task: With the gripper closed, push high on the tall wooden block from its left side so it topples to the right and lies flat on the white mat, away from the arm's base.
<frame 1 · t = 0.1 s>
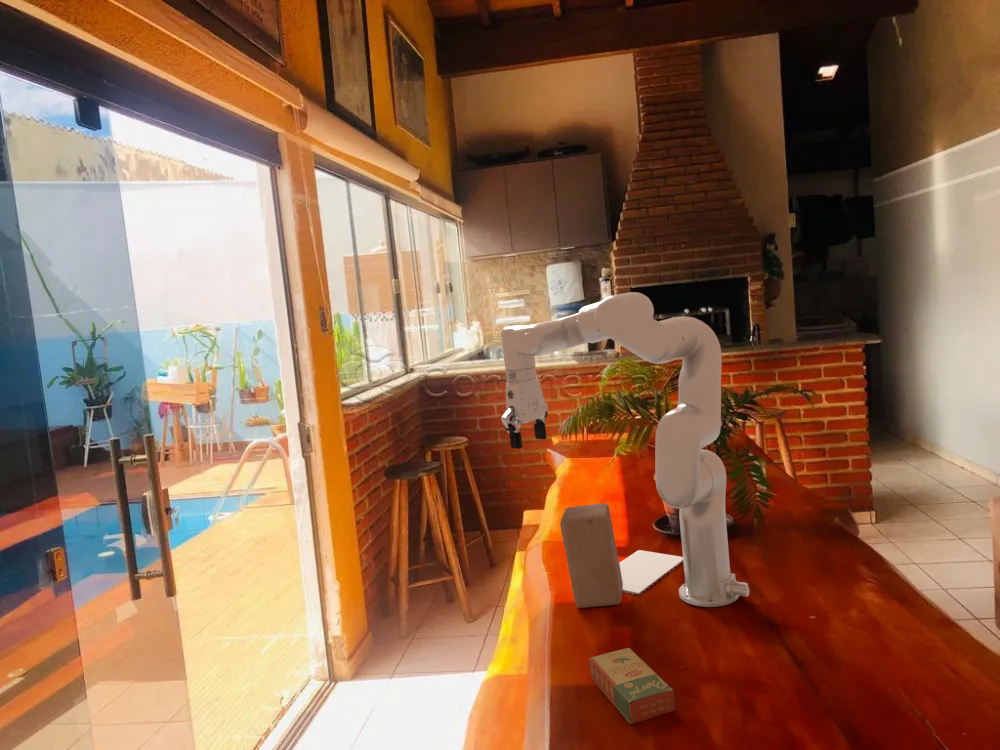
hand: (529, 443, 188), 31 cm above the table, tool pointing down, fingers open, 9 cm apart
carton: (631, 696, 129), on the table
white mat: (638, 572, 179), on the table
wooden block: (600, 598, 167), on the table, touching white mat
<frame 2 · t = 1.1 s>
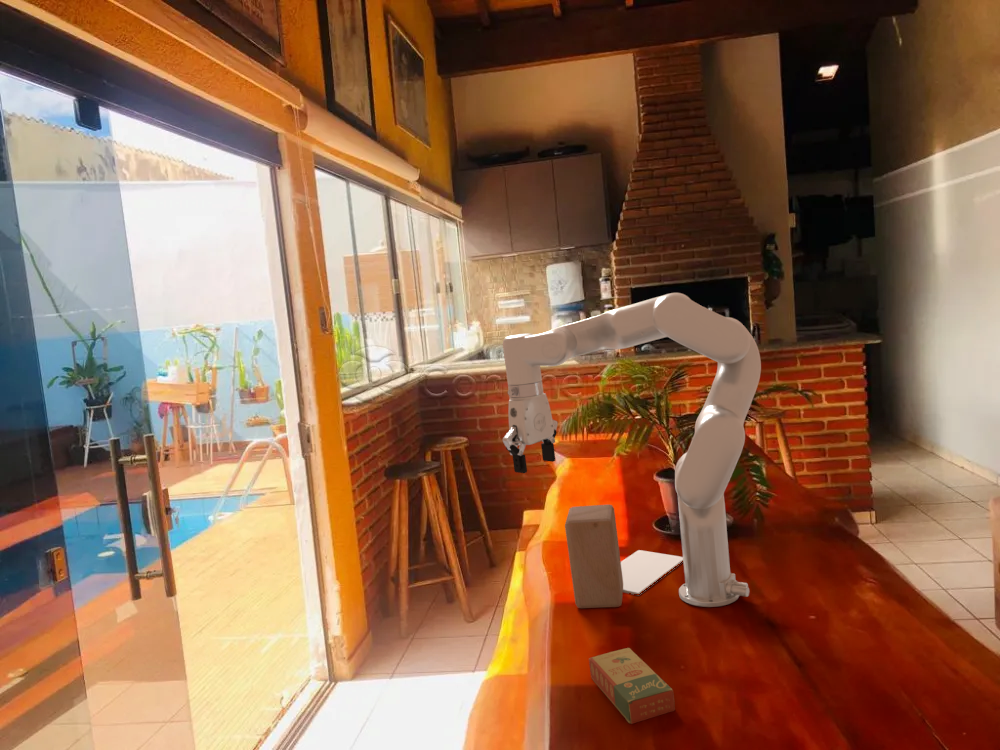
hand: (535, 466, 168), 30 cm above the table, tool pointing down, fingers open, 9 cm apart
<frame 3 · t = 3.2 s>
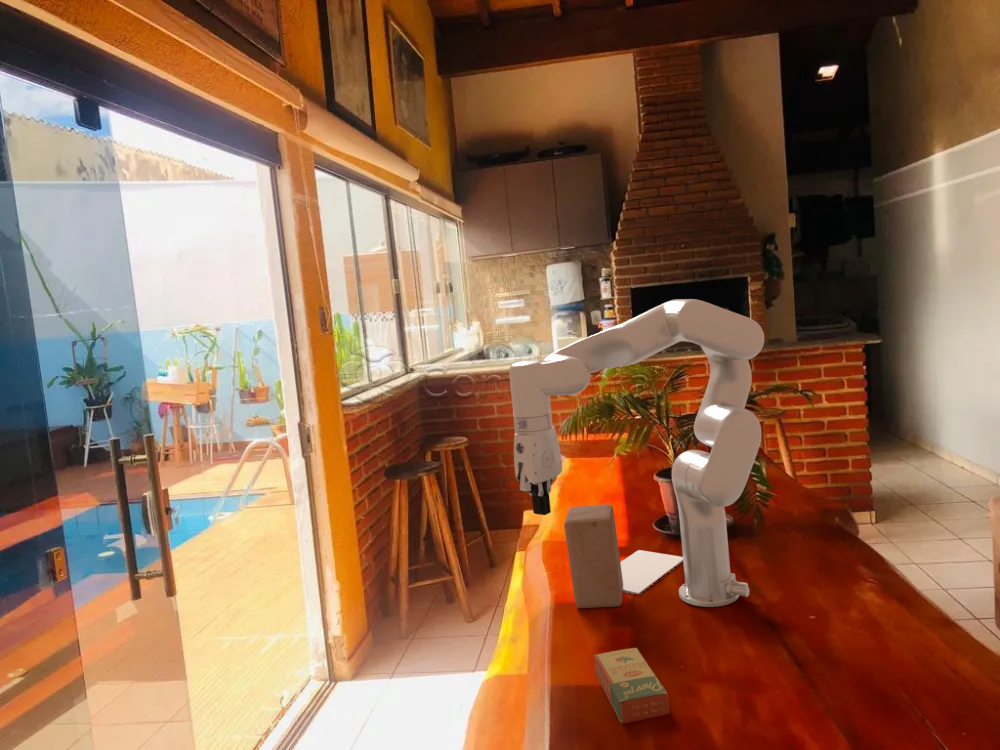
hand: (542, 513, 152), 25 cm above the table, tool pointing down, fingers closed
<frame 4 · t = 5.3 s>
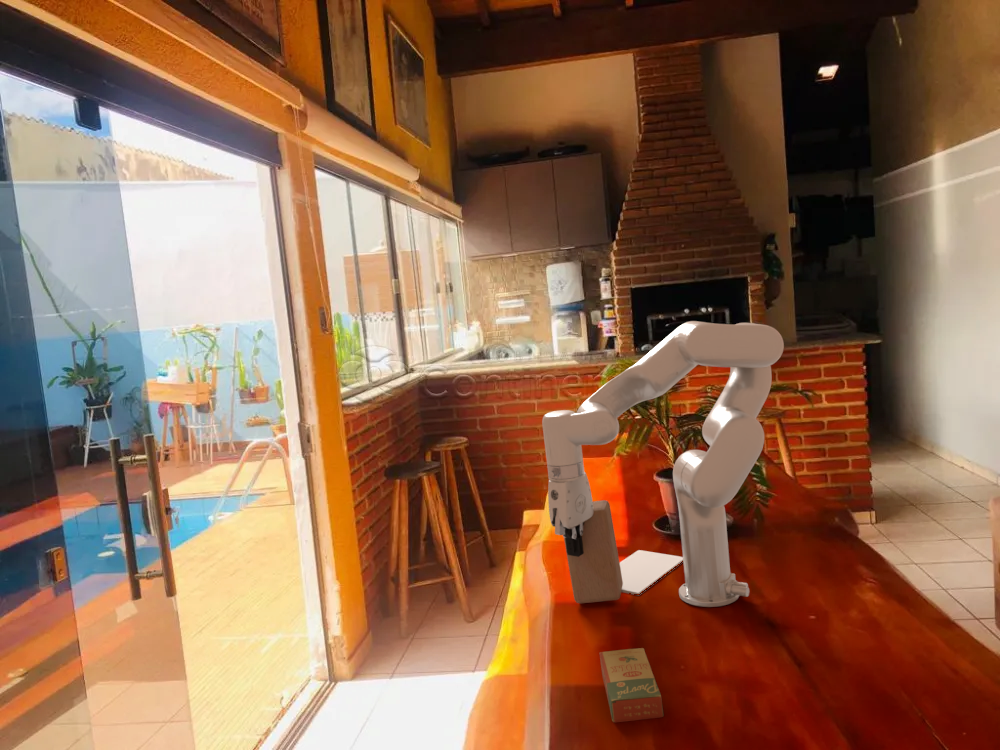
hand: (575, 554, 160), 13 cm above the table, tool pointing down, fingers closed
wooden block: (599, 596, 167), point 1 cm above the table, touching white mat, gripper
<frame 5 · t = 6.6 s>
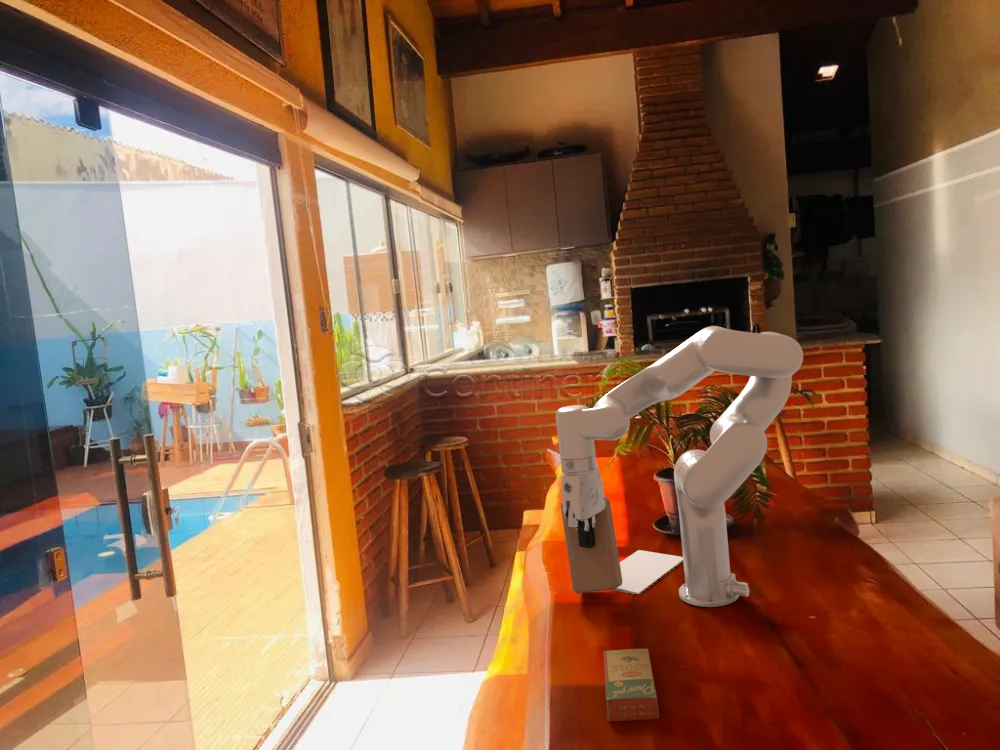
hand: (587, 546, 163), 13 cm above the table, tool pointing down, fingers closed
wooden block: (598, 590, 167), point 2 cm above the table, touching white mat, gripper
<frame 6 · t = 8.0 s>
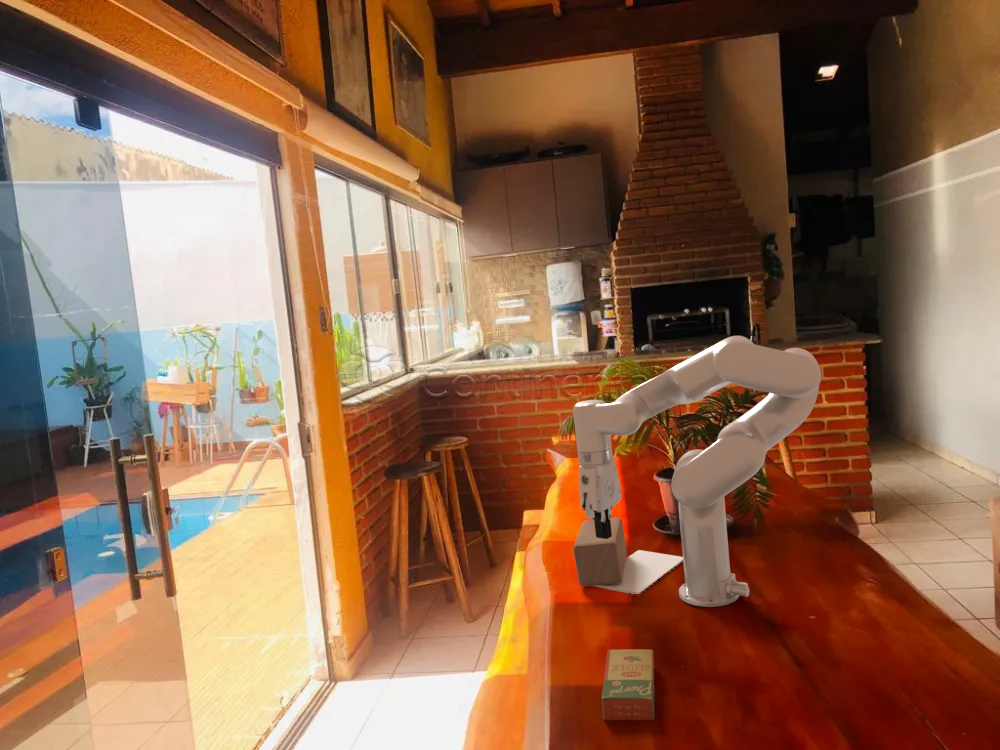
hand: (604, 537, 168), 13 cm above the table, tool pointing down, fingers closed
wooden block: (597, 565, 171), point 6 cm above the table, touching white mat
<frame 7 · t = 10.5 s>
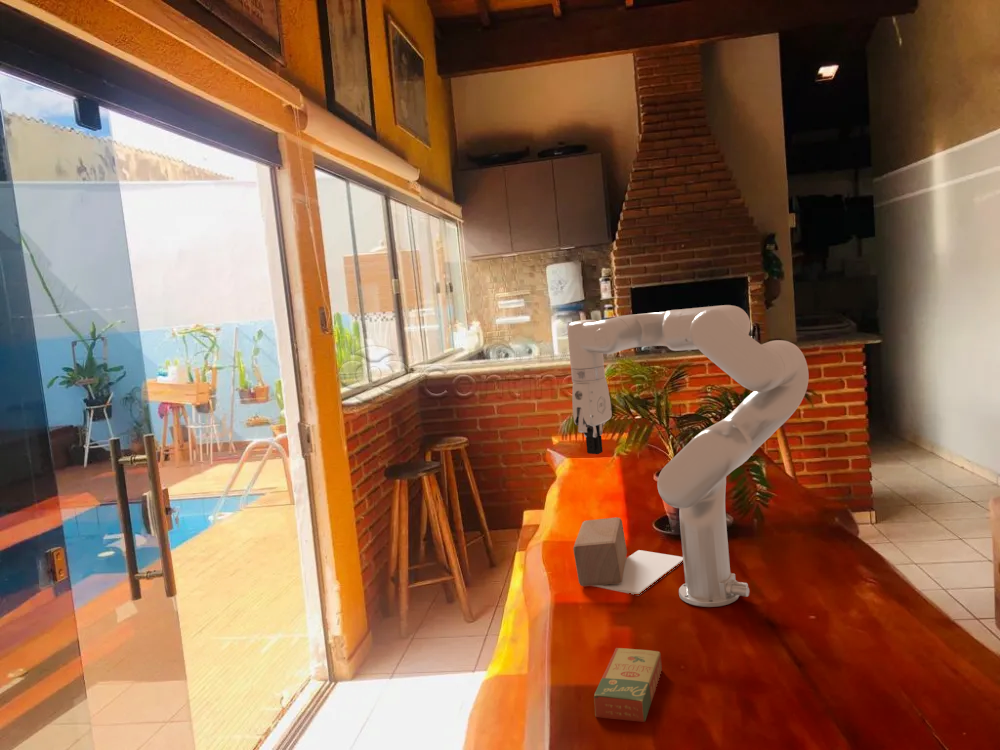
hand: (594, 452, 175), 30 cm above the table, tool pointing down, fingers closed
wooden block: (597, 565, 171), point 6 cm above the table, touching white mat
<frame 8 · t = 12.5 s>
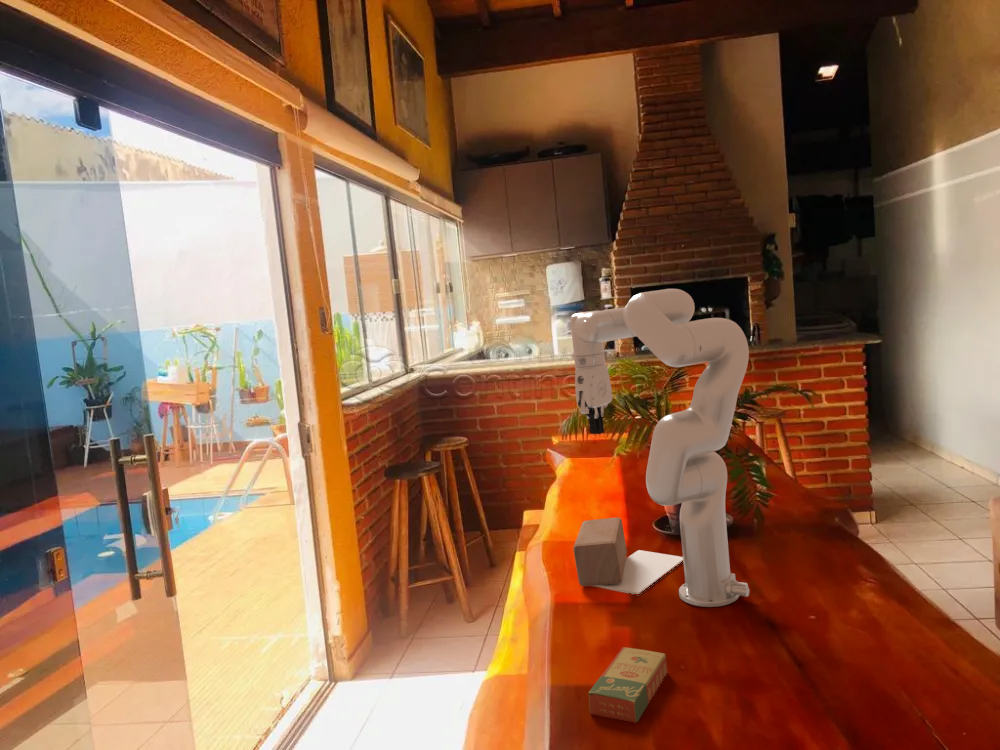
hand: (597, 432, 192), 31 cm above the table, tool pointing down, fingers closed
wooden block: (597, 565, 171), point 6 cm above the table, touching white mat
at the end: wooden block tilted 92°; wooden block touching white mat, table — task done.
